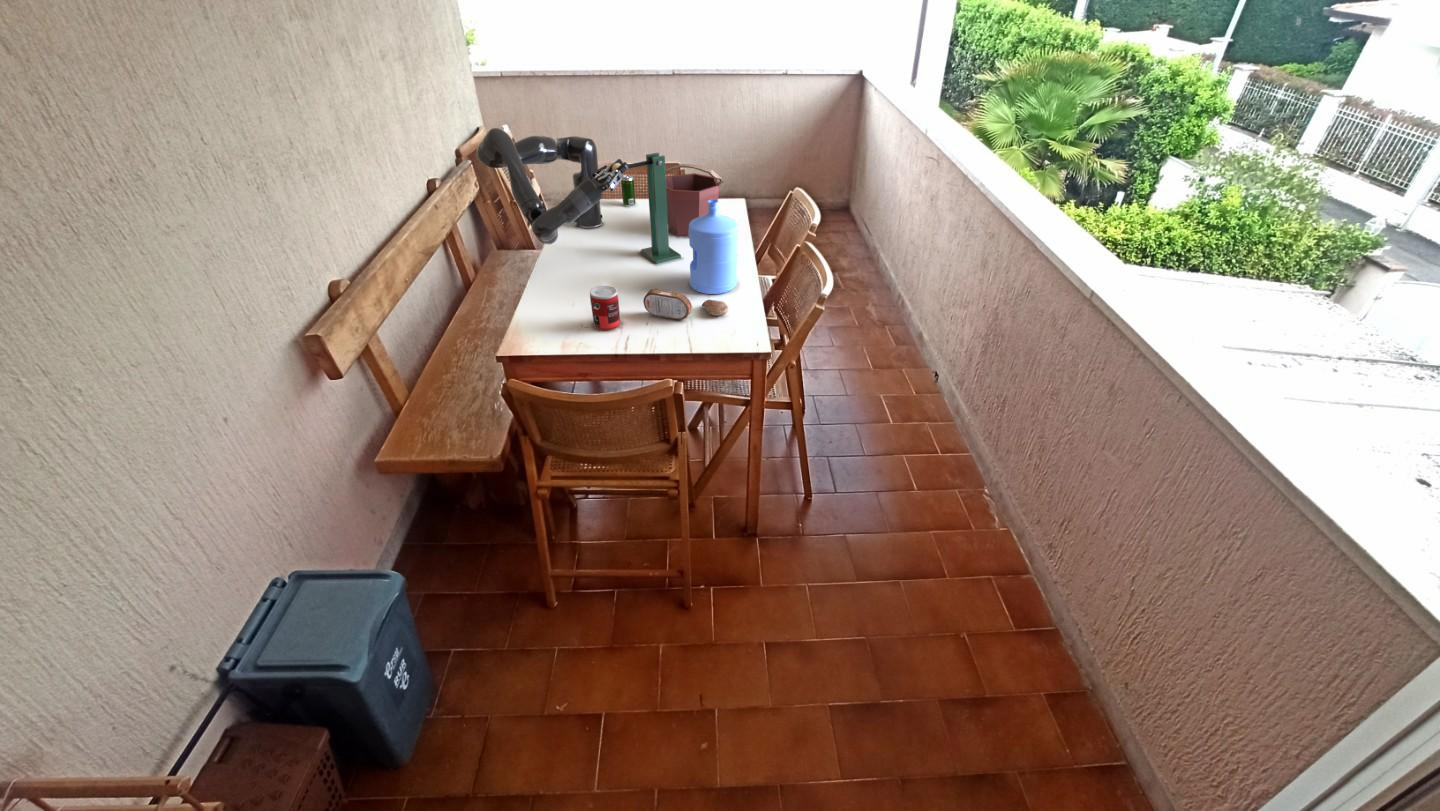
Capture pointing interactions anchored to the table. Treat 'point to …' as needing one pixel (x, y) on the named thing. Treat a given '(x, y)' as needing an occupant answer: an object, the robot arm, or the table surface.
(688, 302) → the tin
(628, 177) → the beer can
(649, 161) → the lever
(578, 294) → the table surface
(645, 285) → the table surface
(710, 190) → the bucket
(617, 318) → the canned food
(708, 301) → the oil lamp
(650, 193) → the green upright stand
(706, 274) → the water jug
